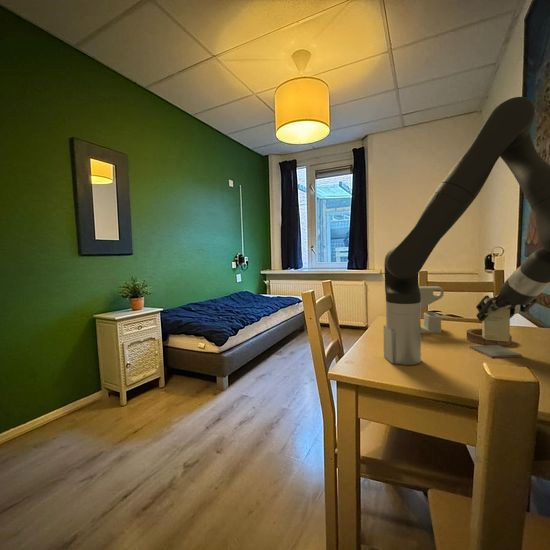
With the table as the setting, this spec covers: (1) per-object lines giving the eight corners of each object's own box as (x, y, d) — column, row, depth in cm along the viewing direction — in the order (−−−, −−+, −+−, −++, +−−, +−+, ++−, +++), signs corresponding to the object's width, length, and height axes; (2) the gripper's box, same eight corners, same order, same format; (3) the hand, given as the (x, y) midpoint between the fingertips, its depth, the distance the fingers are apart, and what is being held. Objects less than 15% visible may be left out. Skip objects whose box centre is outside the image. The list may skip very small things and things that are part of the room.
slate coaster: (490, 357, 84) (490, 355, 84) (469, 347, 93) (469, 346, 93) (521, 356, 84) (521, 354, 84) (497, 346, 93) (497, 344, 93)
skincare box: (484, 339, 87) (484, 299, 87) (481, 336, 91) (481, 297, 90) (510, 341, 84) (510, 300, 84) (506, 337, 88) (507, 298, 88)
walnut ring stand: (483, 346, 94) (483, 338, 93) (459, 335, 106) (459, 329, 106) (520, 345, 94) (520, 337, 93) (492, 334, 106) (492, 328, 106)
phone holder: (435, 326, 120) (435, 283, 119) (444, 333, 110) (444, 286, 109) (390, 326, 123) (390, 284, 122) (395, 332, 113) (395, 287, 112)
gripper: (542, 272, 79) (508, 307, 91) (490, 274, 79) (463, 309, 91) (561, 294, 74) (522, 327, 86) (506, 296, 74) (474, 329, 86)
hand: (492, 318), depth 89 cm, fingers closed on skincare box, 7 cm apart
